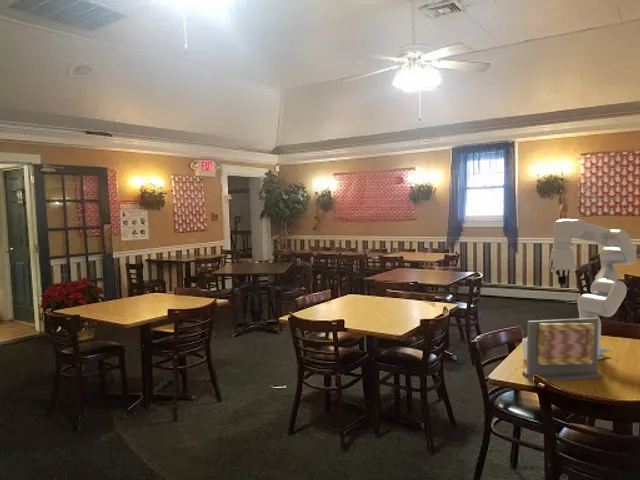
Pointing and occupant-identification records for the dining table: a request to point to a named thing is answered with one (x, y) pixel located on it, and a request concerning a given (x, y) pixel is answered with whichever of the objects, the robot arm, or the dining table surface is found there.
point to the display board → (566, 369)
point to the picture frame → (565, 343)
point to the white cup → (524, 348)
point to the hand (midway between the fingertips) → (561, 284)
